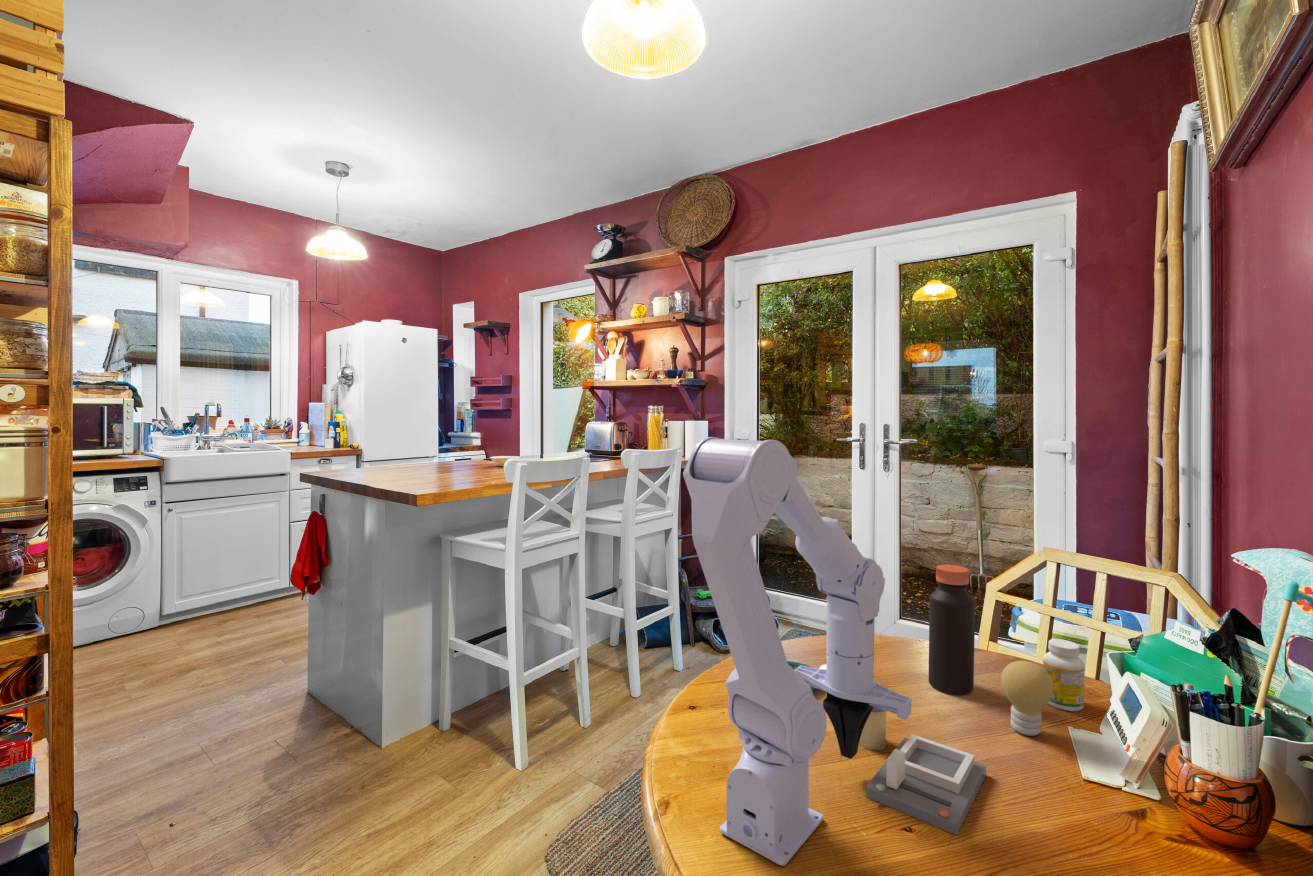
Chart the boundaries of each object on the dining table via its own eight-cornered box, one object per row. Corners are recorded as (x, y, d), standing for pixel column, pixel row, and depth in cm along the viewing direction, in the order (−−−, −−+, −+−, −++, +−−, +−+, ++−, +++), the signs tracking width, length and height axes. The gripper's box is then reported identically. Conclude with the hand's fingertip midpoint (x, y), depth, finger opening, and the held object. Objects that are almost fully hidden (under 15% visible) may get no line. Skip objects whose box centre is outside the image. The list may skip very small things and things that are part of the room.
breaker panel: (956, 835, 64) (956, 814, 64) (865, 796, 71) (865, 777, 71) (986, 774, 75) (986, 756, 75) (904, 745, 81) (904, 729, 81)
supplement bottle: (1089, 714, 90) (1091, 652, 89) (1049, 709, 91) (1051, 648, 91) (1074, 697, 95) (1076, 638, 94) (1037, 693, 96) (1038, 635, 96)
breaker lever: (896, 789, 70) (896, 763, 70) (886, 785, 71) (886, 759, 71) (905, 777, 72) (905, 752, 72) (895, 773, 73) (895, 748, 73)
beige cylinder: (880, 754, 79) (881, 711, 79) (848, 743, 82) (849, 700, 82) (891, 740, 83) (892, 699, 83) (861, 730, 86) (861, 689, 85)
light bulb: (1056, 730, 85) (1057, 662, 85) (1047, 749, 81) (1049, 677, 80) (1005, 715, 90) (1007, 650, 89) (994, 732, 85) (996, 663, 84)
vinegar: (983, 691, 97) (985, 571, 96) (952, 699, 94) (955, 575, 94) (948, 674, 103) (950, 561, 102) (919, 681, 101) (920, 565, 100)
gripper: (920, 654, 73) (918, 761, 74) (810, 626, 82) (810, 721, 83) (900, 673, 68) (899, 789, 68) (786, 641, 77) (786, 743, 78)
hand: (849, 753), depth 75 cm, fingers closed
